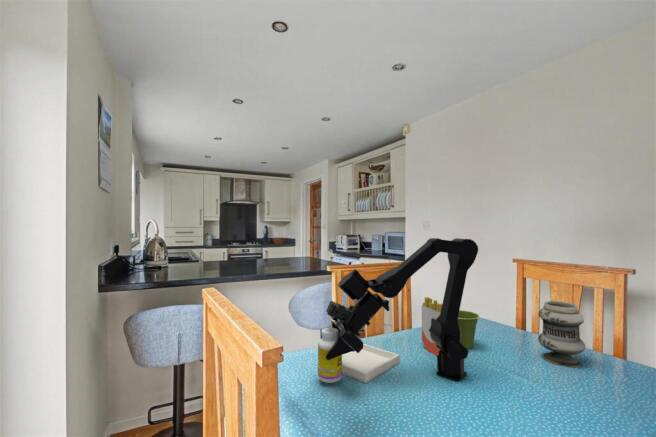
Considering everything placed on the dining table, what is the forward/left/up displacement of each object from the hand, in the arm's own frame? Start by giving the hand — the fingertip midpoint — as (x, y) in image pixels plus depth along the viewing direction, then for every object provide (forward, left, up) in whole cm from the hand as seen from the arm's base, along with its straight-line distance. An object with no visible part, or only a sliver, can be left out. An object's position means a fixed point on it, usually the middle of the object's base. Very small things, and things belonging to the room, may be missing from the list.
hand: (325, 353), depth 86 cm
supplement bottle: (-1, -1, -7) cm, 7 cm away
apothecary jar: (-46, -62, -8) cm, 77 cm away
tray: (0, -16, -8) cm, 18 cm away
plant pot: (-18, -53, -8) cm, 56 cm away
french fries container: (-14, -41, -8) cm, 44 cm away
